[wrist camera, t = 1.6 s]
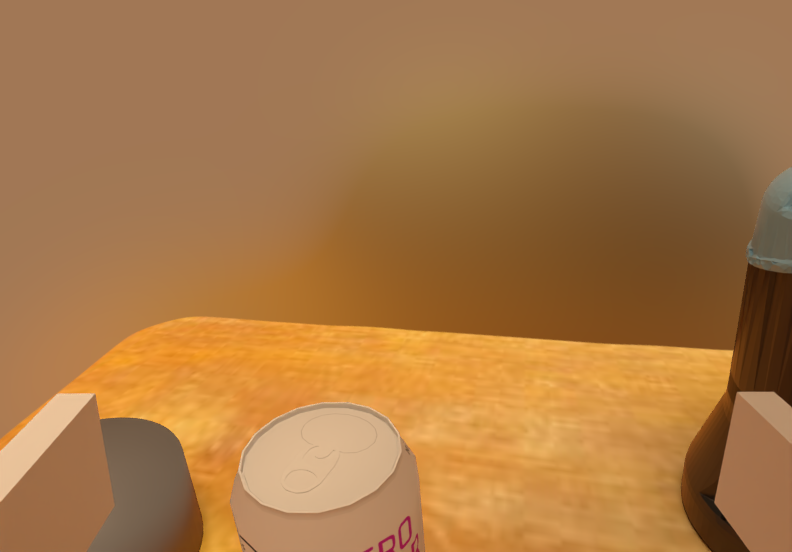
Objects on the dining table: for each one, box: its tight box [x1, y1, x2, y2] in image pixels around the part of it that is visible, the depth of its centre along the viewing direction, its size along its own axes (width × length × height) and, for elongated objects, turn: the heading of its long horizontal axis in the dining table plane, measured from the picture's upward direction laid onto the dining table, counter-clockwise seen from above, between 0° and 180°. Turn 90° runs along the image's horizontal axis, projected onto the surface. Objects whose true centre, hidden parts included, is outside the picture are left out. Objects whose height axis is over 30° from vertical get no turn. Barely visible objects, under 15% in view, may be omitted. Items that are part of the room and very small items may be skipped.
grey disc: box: [87, 418, 203, 552], centre depth 41 cm, size 14×14×6 cm
